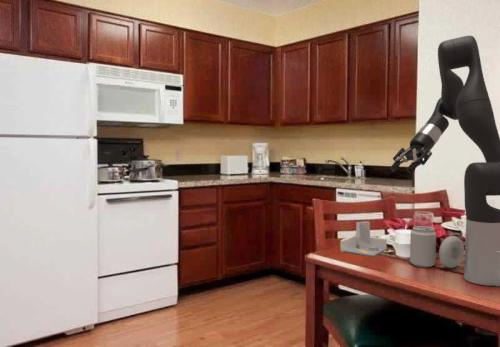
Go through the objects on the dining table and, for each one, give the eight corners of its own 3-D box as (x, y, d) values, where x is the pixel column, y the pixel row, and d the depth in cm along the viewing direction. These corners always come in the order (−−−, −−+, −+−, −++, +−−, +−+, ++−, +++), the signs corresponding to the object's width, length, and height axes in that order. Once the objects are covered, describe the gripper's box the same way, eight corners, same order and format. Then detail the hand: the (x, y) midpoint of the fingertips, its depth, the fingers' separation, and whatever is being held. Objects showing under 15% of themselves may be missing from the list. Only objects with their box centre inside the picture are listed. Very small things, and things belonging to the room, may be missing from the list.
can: (437, 268, 130) (438, 230, 129) (412, 267, 131) (412, 229, 130) (432, 262, 137) (433, 225, 136) (408, 260, 139) (408, 224, 138)
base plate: (385, 250, 152) (385, 248, 152) (373, 256, 144) (373, 255, 144) (356, 245, 159) (356, 244, 159) (343, 251, 150) (343, 250, 150)
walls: (386, 249, 153) (386, 238, 153) (373, 256, 144) (373, 245, 143) (354, 244, 161) (355, 234, 160) (340, 251, 151) (340, 240, 151)
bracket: (378, 251, 149) (379, 224, 148) (368, 252, 147) (368, 225, 146) (366, 246, 155) (366, 221, 155) (356, 248, 154) (356, 222, 153)
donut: (446, 271, 127) (447, 239, 126) (435, 269, 130) (436, 236, 129) (465, 266, 132) (466, 235, 131) (455, 264, 135) (456, 233, 134)
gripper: (406, 132, 160) (381, 162, 157) (435, 131, 147) (408, 164, 144) (417, 146, 163) (392, 176, 159) (446, 146, 150) (420, 179, 146)
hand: (400, 170), depth 152 cm, fingers open, 8 cm apart
